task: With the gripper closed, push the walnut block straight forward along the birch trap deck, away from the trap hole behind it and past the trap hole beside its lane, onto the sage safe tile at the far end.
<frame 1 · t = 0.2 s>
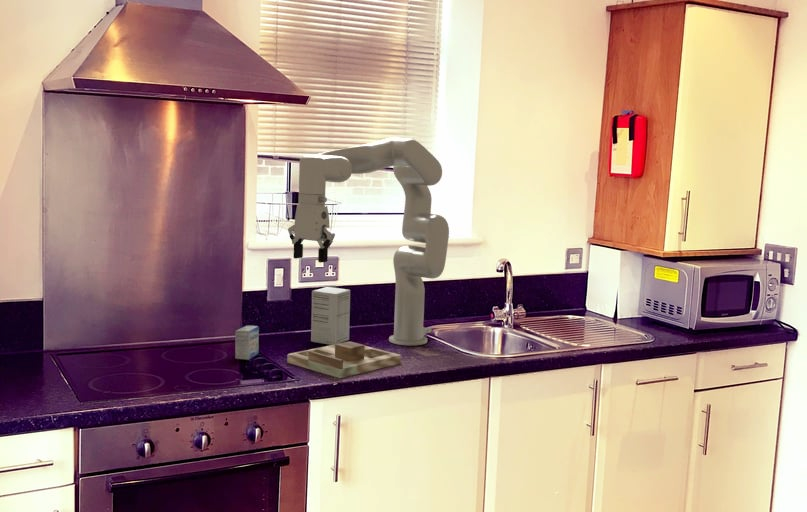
hand: (310, 260, 252), 31 cm above the worktop, tool pointing down, fingers open, 9 cm apart
walnut block: (349, 358, 255), point 2 cm above the worktop, touching trap deck
medicine box: (246, 357, 262), on the worktop
supplement box: (330, 341, 286), on the worktop
trap deck: (344, 362, 259), on the worktop
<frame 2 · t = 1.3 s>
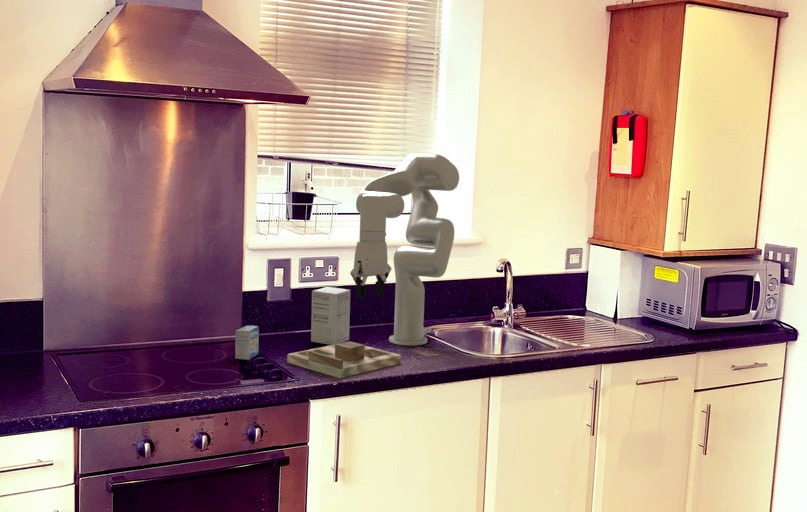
hand: (370, 296, 259), 20 cm above the worktop, tool pointing down, fingers open, 7 cm apart
nothing on the worktop moved.
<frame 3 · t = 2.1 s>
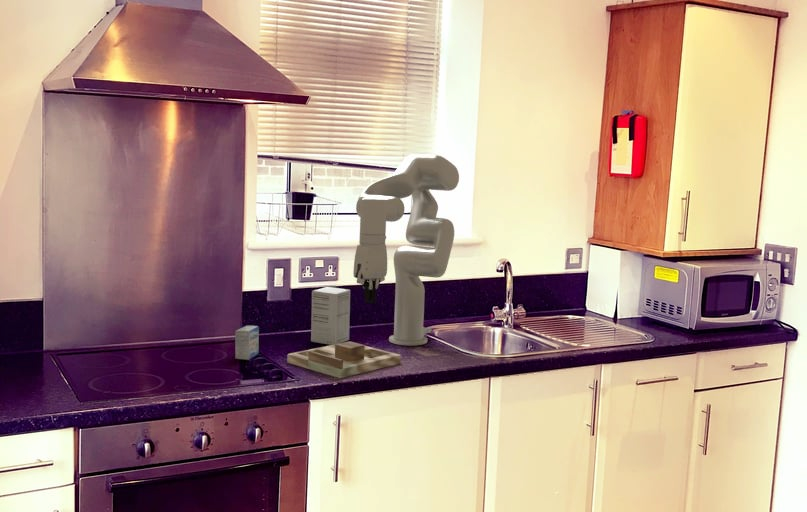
hand: (370, 302, 258), 18 cm above the worktop, tool pointing down, fingers closed
nothing on the worktop moved.
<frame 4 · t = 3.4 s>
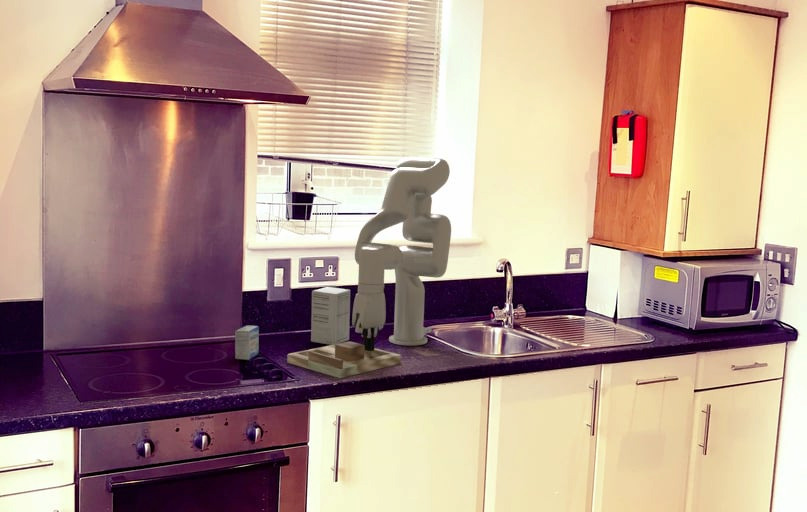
hand: (368, 350, 260), 4 cm above the worktop, tool pointing down, fingers closed
nothing on the worktop moved.
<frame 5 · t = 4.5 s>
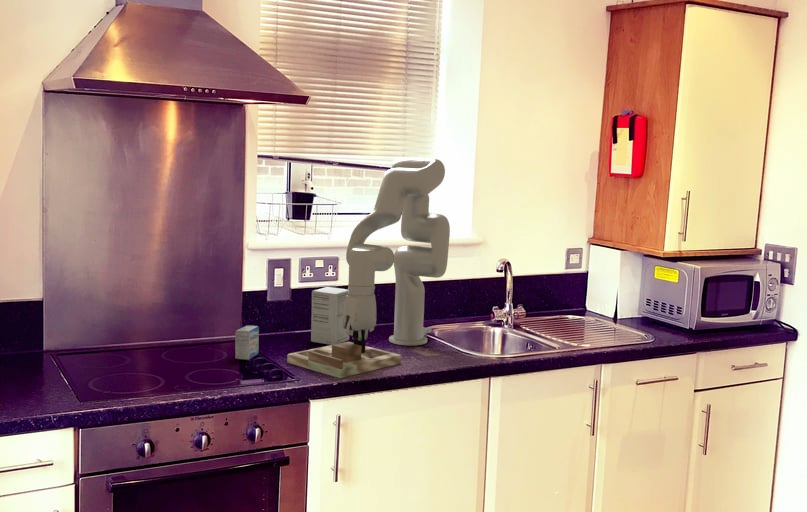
hand: (359, 352, 258), 4 cm above the worktop, tool pointing down, fingers closed
walnut block: (346, 358, 254), point 3 cm above the worktop
everything else where it was.
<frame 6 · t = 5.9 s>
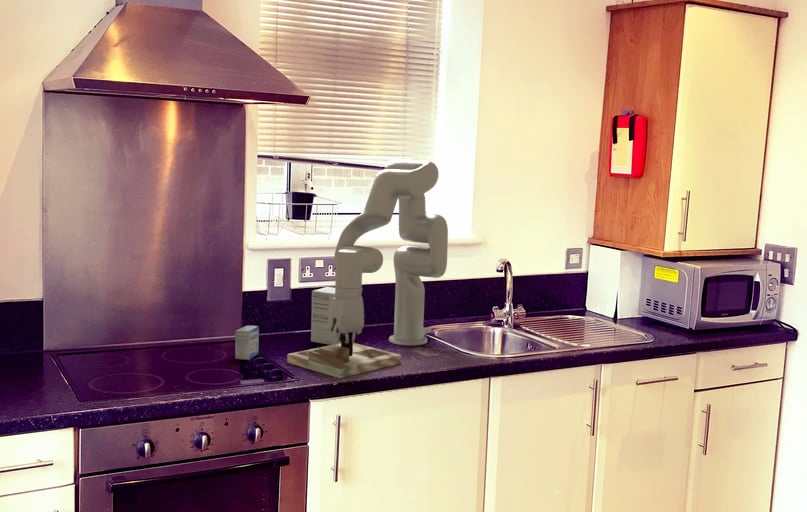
hand: (346, 355, 254), 4 cm above the worktop, tool pointing down, fingers closed
walnut block: (333, 362, 250), point 2 cm above the worktop, touching gripper, trap deck
everything else where it was.
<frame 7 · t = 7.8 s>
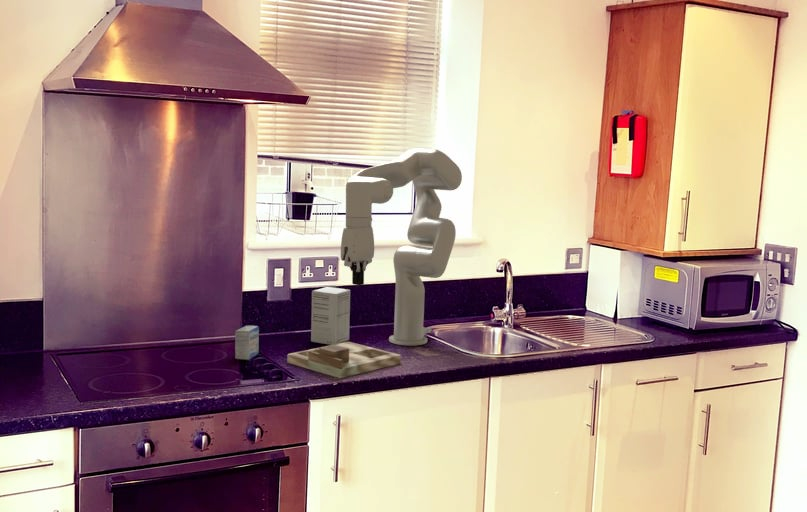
hand: (358, 284, 260), 23 cm above the worktop, tool pointing down, fingers closed
walnut block: (333, 362, 250), point 2 cm above the worktop, touching trap deck
everything else where it was.
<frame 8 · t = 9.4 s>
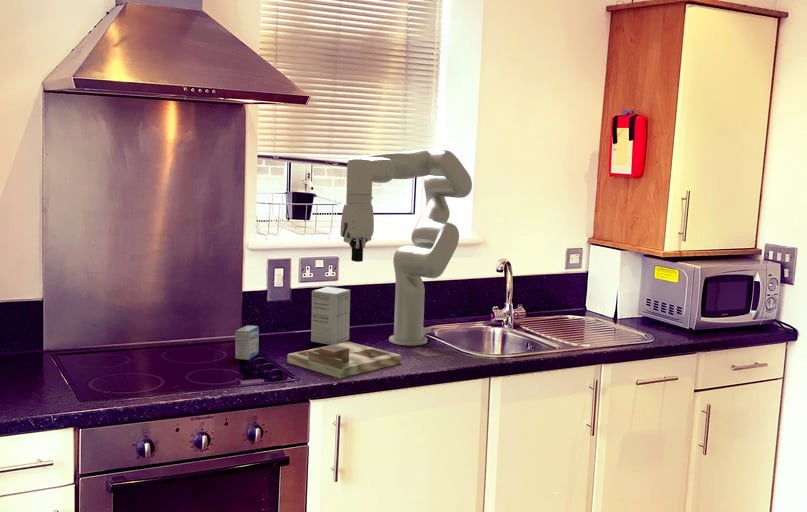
hand: (357, 261, 264), 29 cm above the worktop, tool pointing down, fingers closed
nothing on the worktop moved.
at the end: walnut block 0.3 cm from the target spot on the trap deck, point 2.5 cm above the trap deck's base; walnut block tilted 0° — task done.
